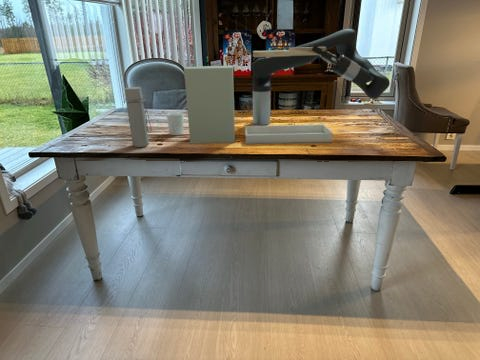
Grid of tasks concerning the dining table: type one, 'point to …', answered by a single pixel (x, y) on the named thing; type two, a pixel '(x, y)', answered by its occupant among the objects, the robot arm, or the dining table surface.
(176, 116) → the white cup
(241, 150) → the dining table surface
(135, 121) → the water bottle
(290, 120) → the dining table surface
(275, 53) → the beige long bar
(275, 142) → the tray
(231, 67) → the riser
